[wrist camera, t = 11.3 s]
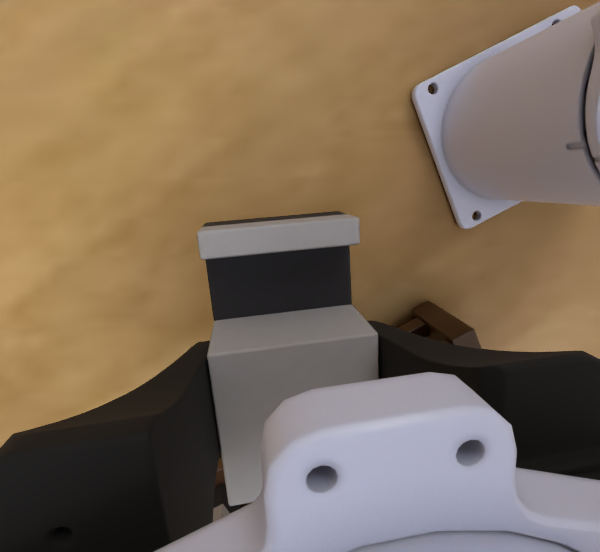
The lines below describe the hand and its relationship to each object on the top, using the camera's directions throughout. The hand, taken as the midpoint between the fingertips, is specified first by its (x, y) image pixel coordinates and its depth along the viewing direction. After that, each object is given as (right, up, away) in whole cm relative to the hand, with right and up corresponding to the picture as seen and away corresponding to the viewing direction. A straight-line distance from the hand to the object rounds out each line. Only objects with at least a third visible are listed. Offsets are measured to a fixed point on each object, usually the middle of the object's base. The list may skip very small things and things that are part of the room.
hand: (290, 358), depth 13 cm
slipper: (0, +1, +1) cm, 2 cm away
